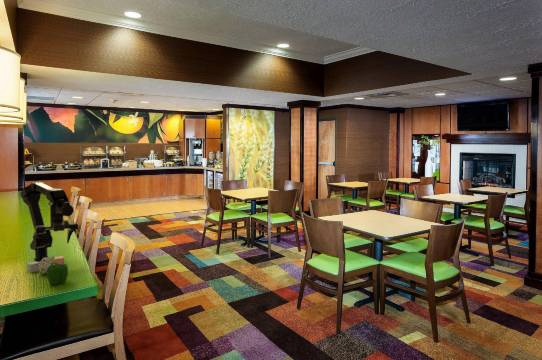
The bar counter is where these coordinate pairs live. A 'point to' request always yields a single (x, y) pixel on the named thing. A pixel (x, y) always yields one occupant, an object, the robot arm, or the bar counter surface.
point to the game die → (45, 264)
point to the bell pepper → (57, 273)
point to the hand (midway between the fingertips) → (57, 244)
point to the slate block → (32, 267)
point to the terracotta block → (59, 259)
